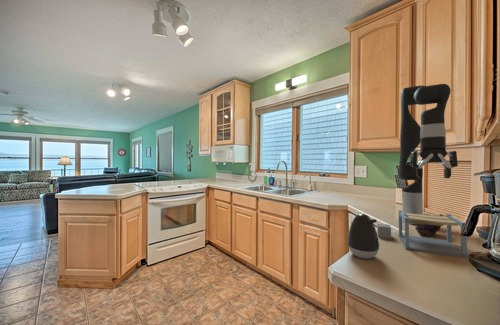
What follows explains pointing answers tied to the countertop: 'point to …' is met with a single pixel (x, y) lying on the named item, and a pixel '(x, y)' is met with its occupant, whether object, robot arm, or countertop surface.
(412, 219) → the trapdoor
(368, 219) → the penguin figurine
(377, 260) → the countertop surface
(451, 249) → the trapdoor frame
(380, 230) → the basalt cube
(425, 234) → the rock
